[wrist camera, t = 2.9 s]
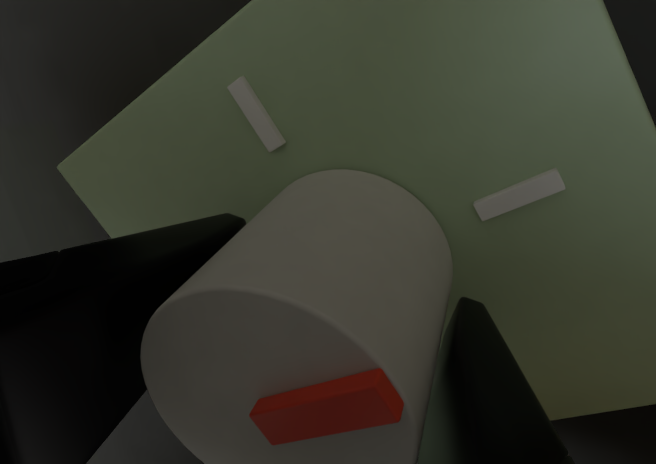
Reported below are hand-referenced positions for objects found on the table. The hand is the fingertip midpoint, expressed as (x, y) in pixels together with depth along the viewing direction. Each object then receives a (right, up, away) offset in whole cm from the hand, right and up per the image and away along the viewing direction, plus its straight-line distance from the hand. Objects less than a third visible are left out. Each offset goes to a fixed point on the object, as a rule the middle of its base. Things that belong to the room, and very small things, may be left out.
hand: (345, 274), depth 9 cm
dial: (0, 0, 0) cm, 0 cm away
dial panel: (+1, +1, +3) cm, 3 cm away
